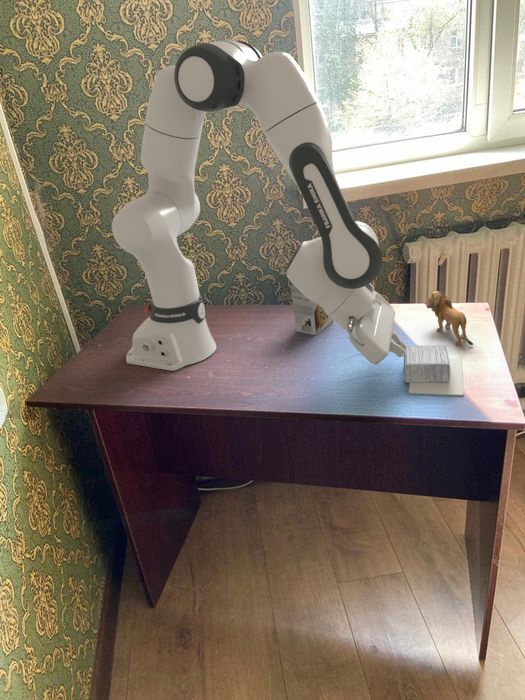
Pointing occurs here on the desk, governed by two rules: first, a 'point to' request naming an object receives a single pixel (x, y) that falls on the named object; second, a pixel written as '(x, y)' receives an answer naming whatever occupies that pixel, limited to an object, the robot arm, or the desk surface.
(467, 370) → the desk surface
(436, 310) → the lion figurine
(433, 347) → the medicine box
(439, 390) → the mat
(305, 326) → the coffee box
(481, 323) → the desk surface
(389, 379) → the desk surface
